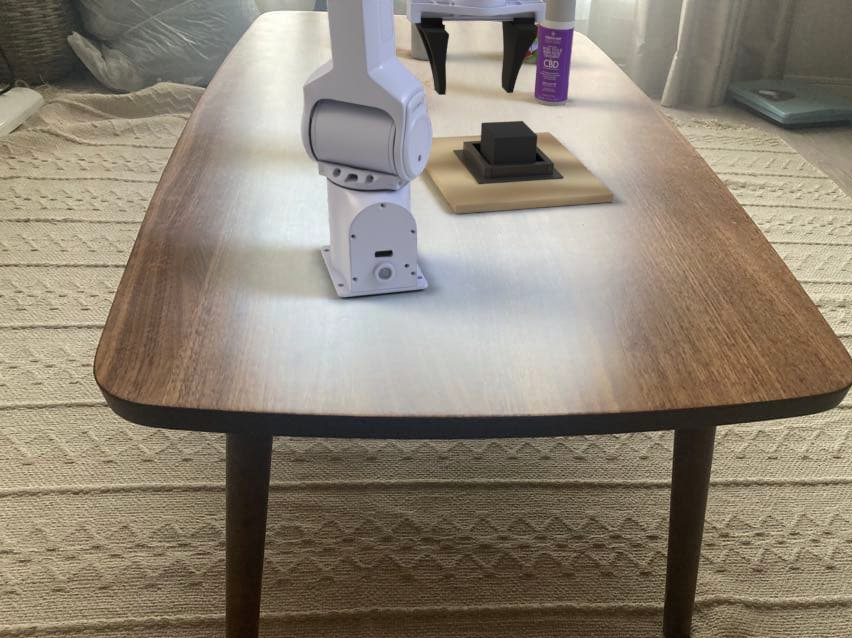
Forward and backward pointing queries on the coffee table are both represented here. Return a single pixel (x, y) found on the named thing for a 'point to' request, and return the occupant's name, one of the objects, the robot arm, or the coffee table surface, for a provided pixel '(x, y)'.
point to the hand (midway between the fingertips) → (474, 91)
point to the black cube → (507, 143)
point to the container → (555, 52)
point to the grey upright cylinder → (417, 44)
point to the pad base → (511, 177)
